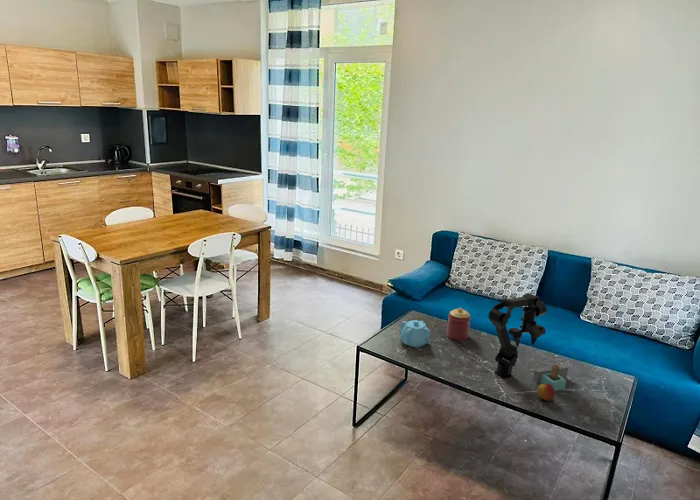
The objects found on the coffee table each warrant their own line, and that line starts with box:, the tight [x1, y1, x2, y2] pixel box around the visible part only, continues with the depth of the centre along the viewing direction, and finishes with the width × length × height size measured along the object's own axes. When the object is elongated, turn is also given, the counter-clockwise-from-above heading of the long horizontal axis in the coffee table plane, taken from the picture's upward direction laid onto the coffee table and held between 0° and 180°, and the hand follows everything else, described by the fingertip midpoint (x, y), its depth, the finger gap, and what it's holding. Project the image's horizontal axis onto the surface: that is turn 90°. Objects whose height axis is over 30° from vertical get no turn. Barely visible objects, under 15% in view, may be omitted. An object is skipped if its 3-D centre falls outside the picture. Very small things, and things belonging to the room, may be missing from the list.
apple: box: [536, 383, 555, 402], centre depth 227 cm, size 8×8×8 cm
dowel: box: [550, 364, 559, 381], centre depth 238 cm, size 3×3×10 cm
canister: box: [446, 307, 472, 341], centre depth 287 cm, size 13×13×18 cm
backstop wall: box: [532, 364, 569, 384], centre depth 245 cm, size 18×3×6 cm, turn 109°
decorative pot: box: [399, 319, 432, 349], centre depth 277 cm, size 16×16×14 cm
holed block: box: [539, 373, 567, 392], centre depth 240 cm, size 8×8×5 cm
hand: (524, 346), depth 254 cm, fingers open, 9 cm apart
